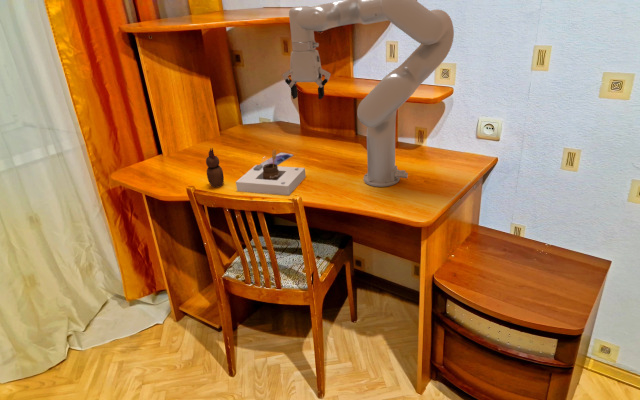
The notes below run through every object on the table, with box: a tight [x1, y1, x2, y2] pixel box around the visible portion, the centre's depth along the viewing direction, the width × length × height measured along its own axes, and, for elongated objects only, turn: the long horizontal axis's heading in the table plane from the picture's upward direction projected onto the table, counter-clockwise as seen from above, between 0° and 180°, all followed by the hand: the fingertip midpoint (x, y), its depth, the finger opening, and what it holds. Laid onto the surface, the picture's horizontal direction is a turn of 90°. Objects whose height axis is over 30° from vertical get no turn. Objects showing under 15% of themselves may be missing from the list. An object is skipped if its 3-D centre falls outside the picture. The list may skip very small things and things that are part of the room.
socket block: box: [235, 164, 307, 196], centre depth 163 cm, size 20×16×4 cm
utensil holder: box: [261, 149, 280, 180], centre depth 162 cm, size 6×6×12 cm
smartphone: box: [259, 151, 294, 166], centre depth 185 cm, size 7×1×15 cm
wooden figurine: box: [205, 147, 225, 188], centre depth 163 cm, size 7×6×15 cm
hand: (308, 98), depth 158 cm, fingers open, 9 cm apart
